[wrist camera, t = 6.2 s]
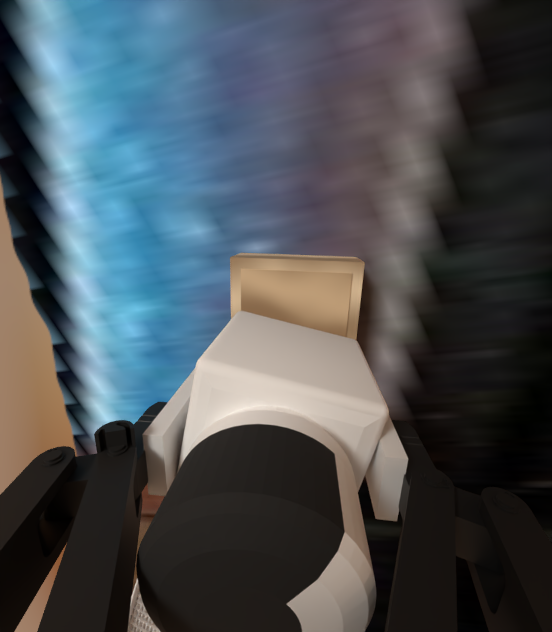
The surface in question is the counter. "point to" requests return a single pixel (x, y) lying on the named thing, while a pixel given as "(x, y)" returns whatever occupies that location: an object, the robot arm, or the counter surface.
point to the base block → (299, 290)
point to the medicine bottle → (268, 488)
